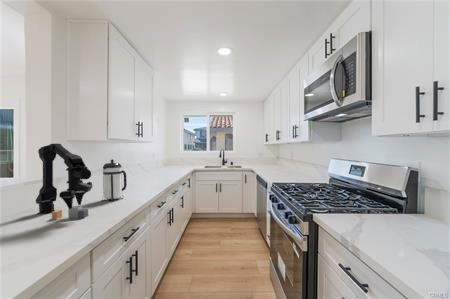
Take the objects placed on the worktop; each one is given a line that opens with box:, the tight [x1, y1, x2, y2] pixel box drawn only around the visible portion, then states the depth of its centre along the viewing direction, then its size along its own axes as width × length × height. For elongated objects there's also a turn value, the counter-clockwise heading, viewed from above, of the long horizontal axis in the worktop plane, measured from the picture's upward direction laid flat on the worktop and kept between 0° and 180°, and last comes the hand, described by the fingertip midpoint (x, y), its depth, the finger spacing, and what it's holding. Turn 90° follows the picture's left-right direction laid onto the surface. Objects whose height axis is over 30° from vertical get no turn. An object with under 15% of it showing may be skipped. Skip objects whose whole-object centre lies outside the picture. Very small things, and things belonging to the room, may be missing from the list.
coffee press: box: [101, 159, 128, 202], centre depth 178 cm, size 17×16×30 cm
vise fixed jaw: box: [77, 208, 89, 219], centre depth 132 cm, size 3×5×4 cm, turn 5°
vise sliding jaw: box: [51, 209, 63, 221], centre depth 131 cm, size 2×5×4 cm, turn 5°
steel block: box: [67, 205, 83, 220], centre depth 132 cm, size 5×4×6 cm
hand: (75, 206), depth 132 cm, fingers open, 9 cm apart
